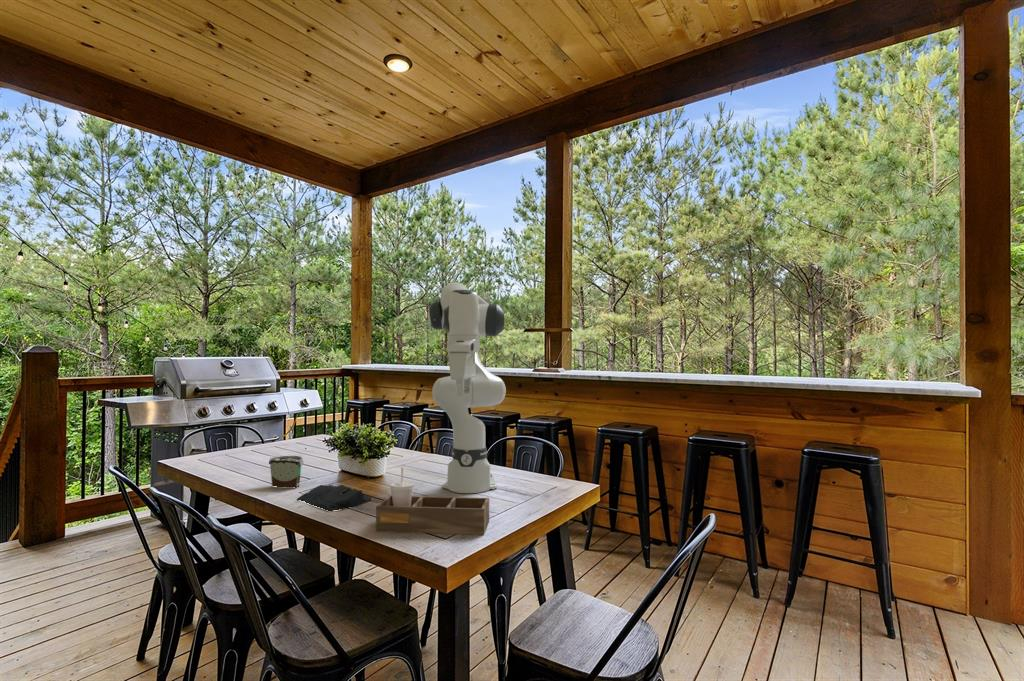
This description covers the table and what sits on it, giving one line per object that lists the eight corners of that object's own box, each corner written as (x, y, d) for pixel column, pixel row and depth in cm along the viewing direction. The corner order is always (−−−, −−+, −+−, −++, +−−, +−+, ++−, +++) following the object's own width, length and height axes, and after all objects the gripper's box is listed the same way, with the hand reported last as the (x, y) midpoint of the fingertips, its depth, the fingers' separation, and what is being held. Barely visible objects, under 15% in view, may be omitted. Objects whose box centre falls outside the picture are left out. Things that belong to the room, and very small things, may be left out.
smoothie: (415, 515, 140) (415, 465, 140) (412, 523, 133) (412, 470, 134) (391, 516, 139) (391, 466, 140) (388, 524, 133) (388, 471, 133)
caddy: (388, 518, 141) (388, 495, 141) (489, 521, 138) (489, 498, 139) (375, 531, 131) (375, 506, 131) (483, 535, 128) (483, 509, 128)
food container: (310, 484, 178) (310, 456, 178) (300, 488, 172) (300, 459, 172) (279, 482, 180) (279, 454, 180) (268, 487, 174) (268, 458, 174)
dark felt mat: (335, 490, 171) (335, 476, 171) (375, 502, 158) (375, 487, 158) (292, 501, 159) (293, 486, 159) (332, 515, 146) (332, 498, 146)
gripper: (460, 346, 152) (459, 391, 151) (445, 345, 131) (445, 397, 131) (480, 346, 151) (480, 391, 151) (468, 345, 131) (468, 398, 130)
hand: (463, 394), depth 141 cm, fingers open, 8 cm apart
